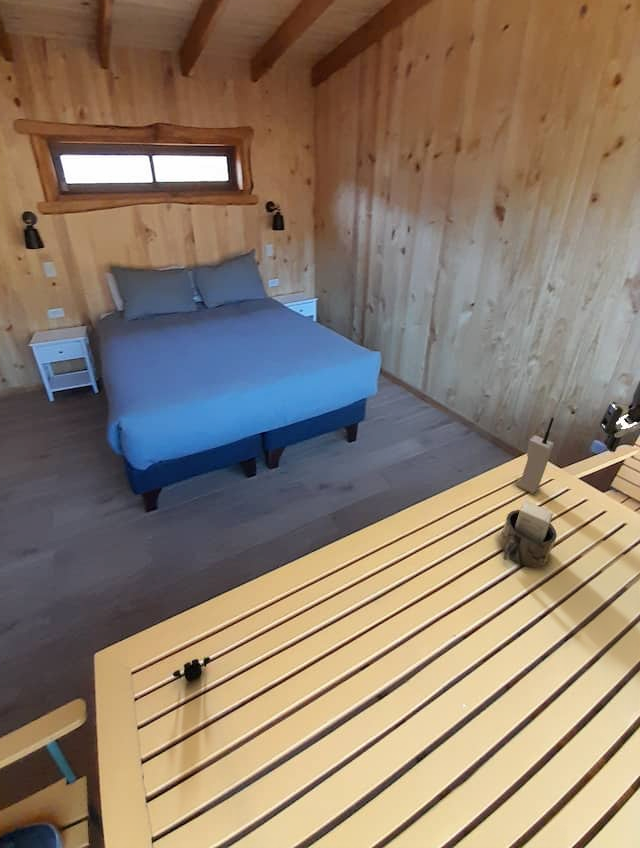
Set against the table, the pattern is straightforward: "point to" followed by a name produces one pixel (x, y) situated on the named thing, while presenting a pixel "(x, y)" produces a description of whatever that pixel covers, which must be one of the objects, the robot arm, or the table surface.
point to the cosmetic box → (533, 522)
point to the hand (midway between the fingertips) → (634, 452)
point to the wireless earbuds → (192, 669)
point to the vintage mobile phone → (536, 461)
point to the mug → (525, 544)
